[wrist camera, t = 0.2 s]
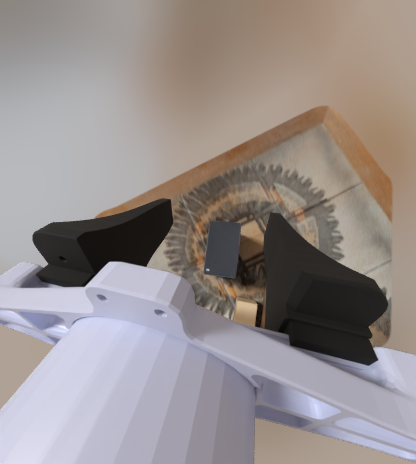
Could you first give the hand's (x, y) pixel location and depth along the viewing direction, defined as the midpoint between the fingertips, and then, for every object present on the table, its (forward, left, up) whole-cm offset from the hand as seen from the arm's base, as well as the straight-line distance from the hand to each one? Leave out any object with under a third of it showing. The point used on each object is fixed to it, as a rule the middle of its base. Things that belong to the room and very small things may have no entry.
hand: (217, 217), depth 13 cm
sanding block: (-13, -6, -31) cm, 34 cm away
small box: (0, +1, -31) cm, 31 cm away
